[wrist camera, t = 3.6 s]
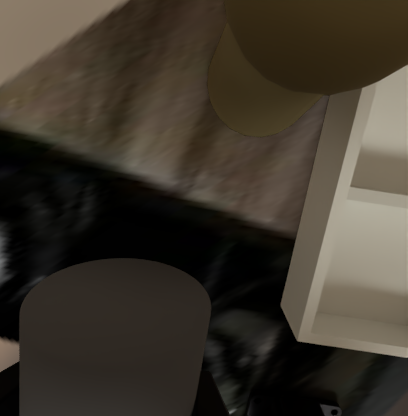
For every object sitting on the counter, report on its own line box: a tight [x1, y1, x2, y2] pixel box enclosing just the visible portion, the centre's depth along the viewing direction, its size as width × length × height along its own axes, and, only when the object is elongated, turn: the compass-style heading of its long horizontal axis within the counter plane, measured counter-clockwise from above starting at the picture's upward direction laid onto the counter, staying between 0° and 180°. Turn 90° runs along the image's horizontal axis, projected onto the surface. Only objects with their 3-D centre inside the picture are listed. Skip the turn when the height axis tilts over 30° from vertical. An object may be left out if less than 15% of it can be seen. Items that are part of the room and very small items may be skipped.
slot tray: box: [281, 65, 408, 358], centre depth 14 cm, size 16×8×3 cm, turn 171°
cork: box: [207, 0, 408, 137], centre depth 9 cm, size 6×6×11 cm
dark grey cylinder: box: [19, 258, 211, 416], centre depth 7 cm, size 6×4×4 cm, turn 171°
